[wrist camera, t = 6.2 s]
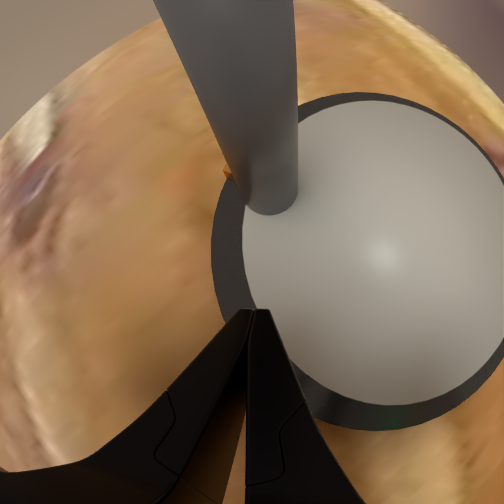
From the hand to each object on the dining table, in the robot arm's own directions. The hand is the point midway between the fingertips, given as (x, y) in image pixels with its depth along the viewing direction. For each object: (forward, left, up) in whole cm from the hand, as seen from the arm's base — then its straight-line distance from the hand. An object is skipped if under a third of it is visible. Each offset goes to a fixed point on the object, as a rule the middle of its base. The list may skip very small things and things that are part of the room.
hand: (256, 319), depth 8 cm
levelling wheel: (-2, -8, -7) cm, 11 cm away
